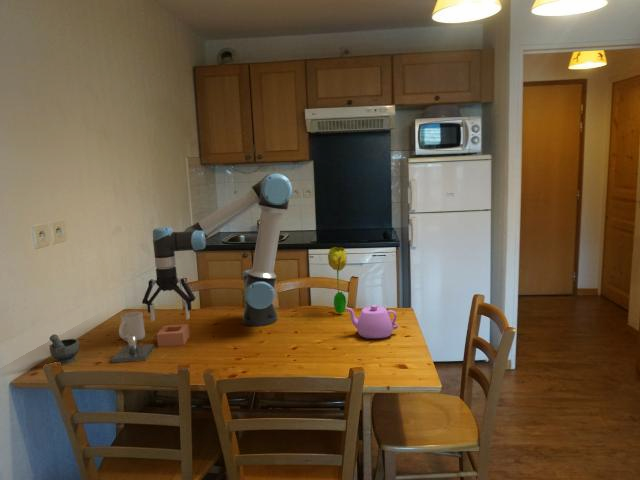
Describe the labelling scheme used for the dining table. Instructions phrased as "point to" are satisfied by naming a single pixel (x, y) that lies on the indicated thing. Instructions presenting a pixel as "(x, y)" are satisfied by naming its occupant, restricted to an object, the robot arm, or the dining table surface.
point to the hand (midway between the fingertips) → (170, 319)
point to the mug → (132, 325)
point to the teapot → (374, 322)
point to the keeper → (133, 351)
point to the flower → (337, 262)
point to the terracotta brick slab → (173, 335)
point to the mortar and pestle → (63, 349)
